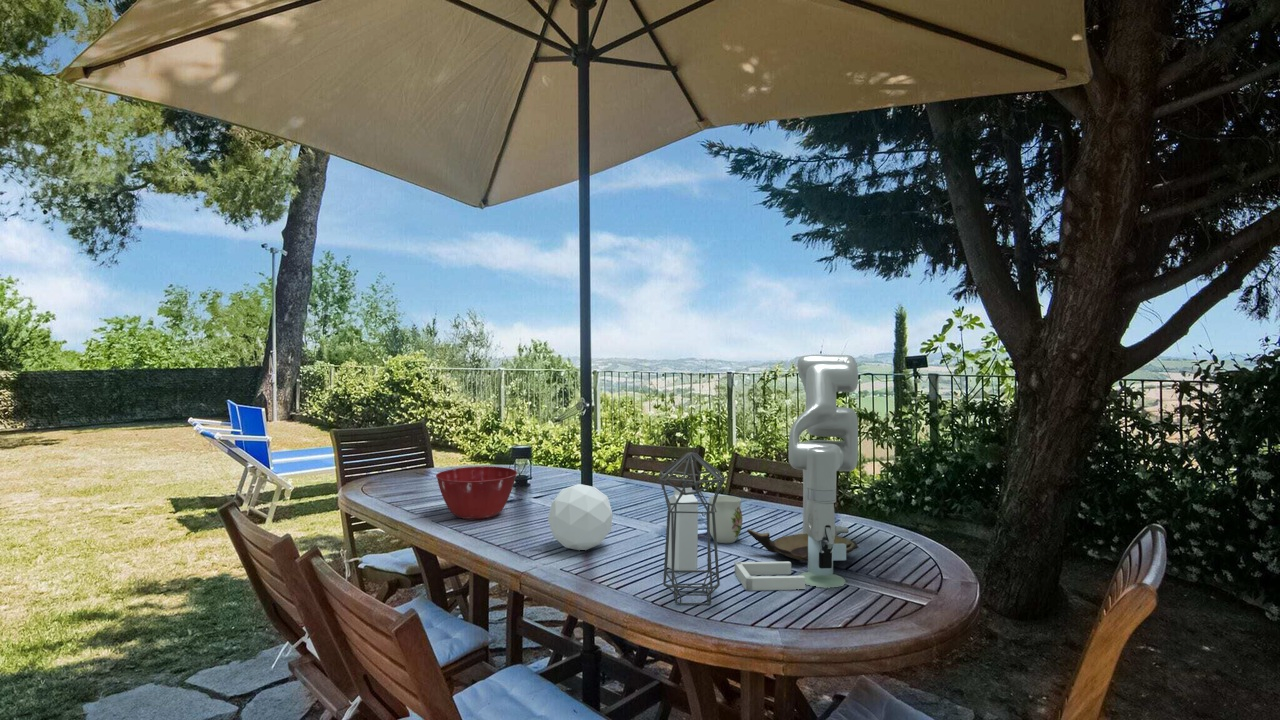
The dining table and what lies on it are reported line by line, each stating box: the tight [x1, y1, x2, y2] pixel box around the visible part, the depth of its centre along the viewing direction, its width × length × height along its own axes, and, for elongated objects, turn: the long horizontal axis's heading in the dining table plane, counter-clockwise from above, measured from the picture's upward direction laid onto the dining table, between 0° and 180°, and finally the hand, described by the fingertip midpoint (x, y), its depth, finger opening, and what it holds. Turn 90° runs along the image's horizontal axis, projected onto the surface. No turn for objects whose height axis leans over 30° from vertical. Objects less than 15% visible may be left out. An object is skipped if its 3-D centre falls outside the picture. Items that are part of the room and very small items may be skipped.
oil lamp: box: [746, 528, 860, 563], centre depth 191 cm, size 22×30×8 cm
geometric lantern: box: [658, 451, 727, 606], centre depth 158 cm, size 16×16×35 cm
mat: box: [797, 571, 846, 589], centre depth 171 cm, size 12×12×1 cm
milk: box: [667, 487, 699, 574], centre depth 179 cm, size 6×6×22 cm
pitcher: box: [708, 495, 743, 544], centre depth 209 cm, size 11×18×14 cm, turn 148°
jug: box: [807, 535, 847, 575], centre depth 171 cm, size 10×6×9 cm, turn 94°
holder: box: [734, 561, 806, 592], centre depth 170 cm, size 15×13×3 cm
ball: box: [547, 483, 613, 551], centre depth 198 cm, size 19×20×20 cm
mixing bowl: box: [435, 466, 518, 520], centre depth 237 cm, size 28×28×16 cm
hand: (820, 562), depth 171 cm, fingers closed on jug, 6 cm apart
